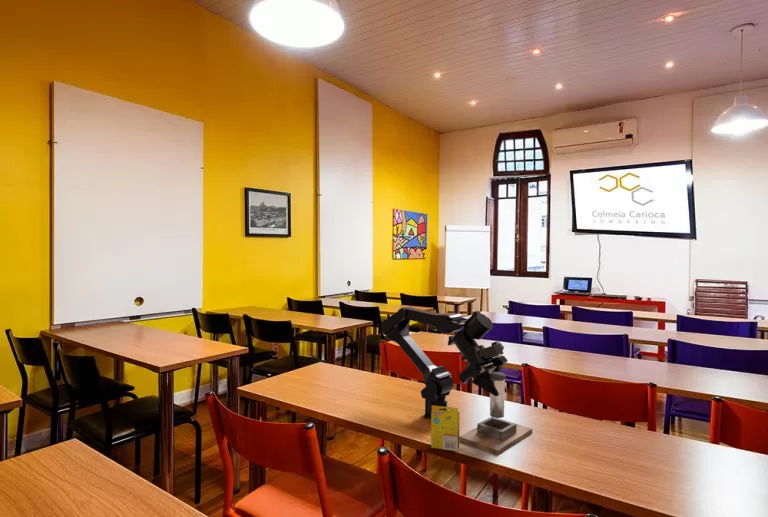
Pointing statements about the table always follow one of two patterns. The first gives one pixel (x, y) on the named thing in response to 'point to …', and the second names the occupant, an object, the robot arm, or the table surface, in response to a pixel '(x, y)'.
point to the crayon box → (445, 428)
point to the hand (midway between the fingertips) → (501, 393)
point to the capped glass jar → (498, 401)
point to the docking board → (495, 435)
